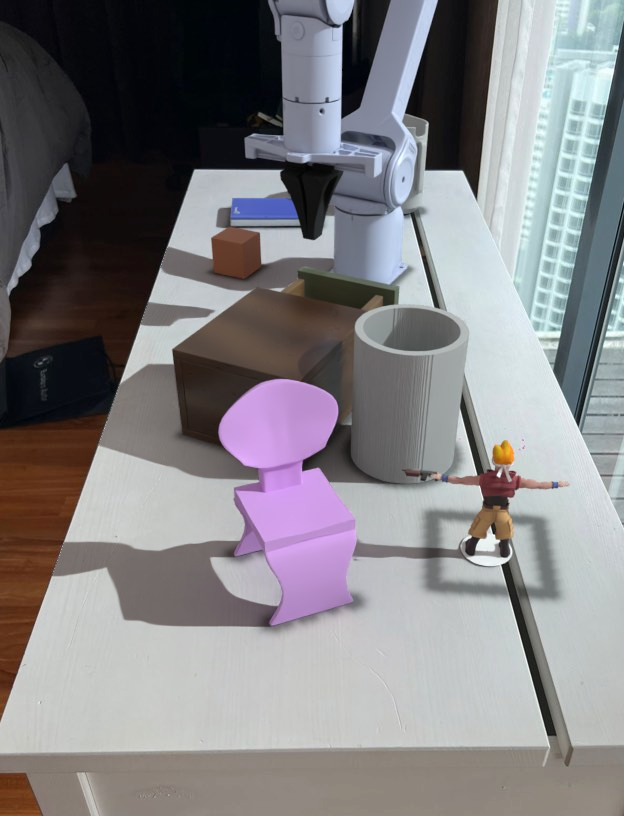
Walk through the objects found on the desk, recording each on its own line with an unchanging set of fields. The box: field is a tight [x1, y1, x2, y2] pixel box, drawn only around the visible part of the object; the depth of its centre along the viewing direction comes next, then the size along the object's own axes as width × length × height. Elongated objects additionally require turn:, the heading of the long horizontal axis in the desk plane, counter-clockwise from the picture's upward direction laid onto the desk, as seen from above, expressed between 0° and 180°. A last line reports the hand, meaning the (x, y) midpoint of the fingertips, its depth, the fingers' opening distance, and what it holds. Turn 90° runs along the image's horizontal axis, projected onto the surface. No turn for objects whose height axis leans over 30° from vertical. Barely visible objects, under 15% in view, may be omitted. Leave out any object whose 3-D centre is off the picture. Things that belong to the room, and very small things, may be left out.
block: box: [210, 226, 262, 280], centre depth 104 cm, size 4×4×4 cm
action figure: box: [402, 439, 571, 567], centre depth 62 cm, size 12×3×9 cm, turn 86°
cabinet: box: [171, 286, 368, 468], centre depth 77 cm, size 15×12×9 cm
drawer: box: [280, 266, 400, 311], centre depth 85 cm, size 18×11×7 cm, turn 155°
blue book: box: [229, 197, 301, 227], centre depth 120 cm, size 2×8×12 cm
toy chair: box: [218, 379, 358, 627], centre depth 57 cm, size 8×9×15 cm
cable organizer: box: [400, 112, 429, 215], centre depth 121 cm, size 7×12×12 cm, turn 38°
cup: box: [350, 303, 470, 485], centre depth 71 cm, size 9×9×12 cm
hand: (312, 236), depth 90 cm, fingers closed
